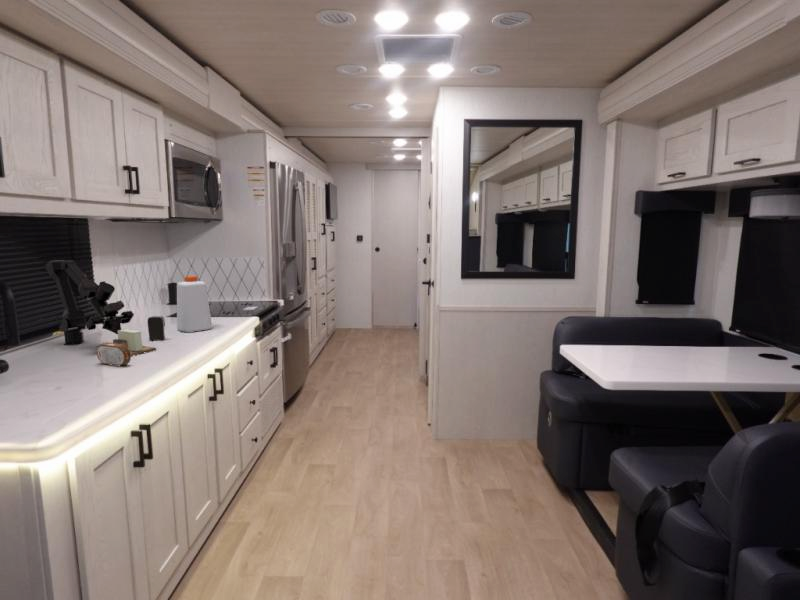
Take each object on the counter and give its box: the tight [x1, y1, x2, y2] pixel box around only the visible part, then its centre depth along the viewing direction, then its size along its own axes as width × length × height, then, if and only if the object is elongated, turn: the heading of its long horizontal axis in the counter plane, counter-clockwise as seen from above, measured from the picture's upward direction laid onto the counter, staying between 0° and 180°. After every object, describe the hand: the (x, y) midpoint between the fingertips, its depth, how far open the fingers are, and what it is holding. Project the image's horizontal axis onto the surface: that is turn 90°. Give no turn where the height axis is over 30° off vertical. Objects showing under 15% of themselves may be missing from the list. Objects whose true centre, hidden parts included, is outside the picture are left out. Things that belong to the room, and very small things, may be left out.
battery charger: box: [147, 315, 166, 341], centre depth 229 cm, size 7×4×11 cm, turn 99°
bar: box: [117, 328, 143, 351], centre depth 206 cm, size 11×3×8 cm, turn 64°
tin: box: [96, 342, 132, 366], centre depth 187 cm, size 15×3×8 cm, turn 71°
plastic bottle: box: [176, 275, 213, 333], centre depth 252 cm, size 15×15×28 cm
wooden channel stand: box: [112, 338, 157, 357], centre depth 207 cm, size 16×14×6 cm
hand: (120, 334), depth 208 cm, fingers closed
